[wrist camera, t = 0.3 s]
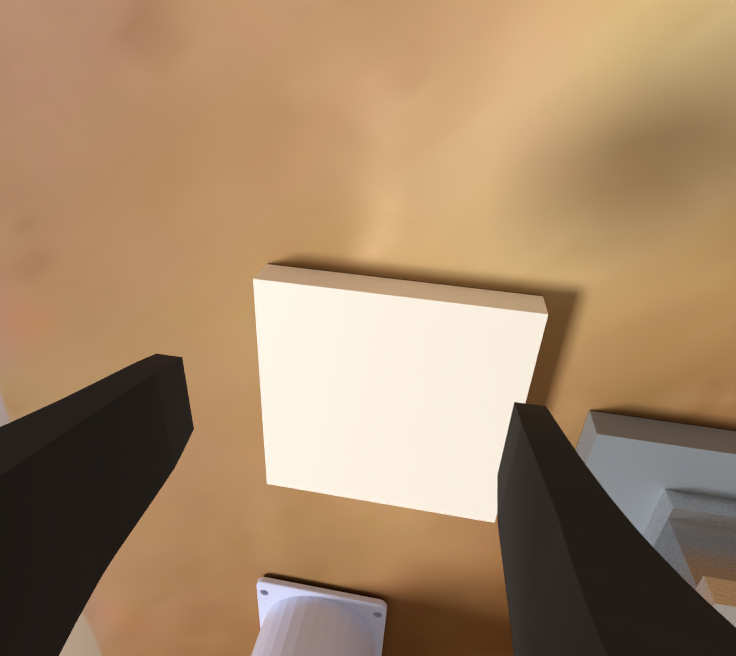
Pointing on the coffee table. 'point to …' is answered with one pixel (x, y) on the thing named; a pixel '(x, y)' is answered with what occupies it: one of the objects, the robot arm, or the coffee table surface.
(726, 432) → the stand
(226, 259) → the coffee table surface
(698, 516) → the block
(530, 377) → the stand
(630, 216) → the coffee table surface
